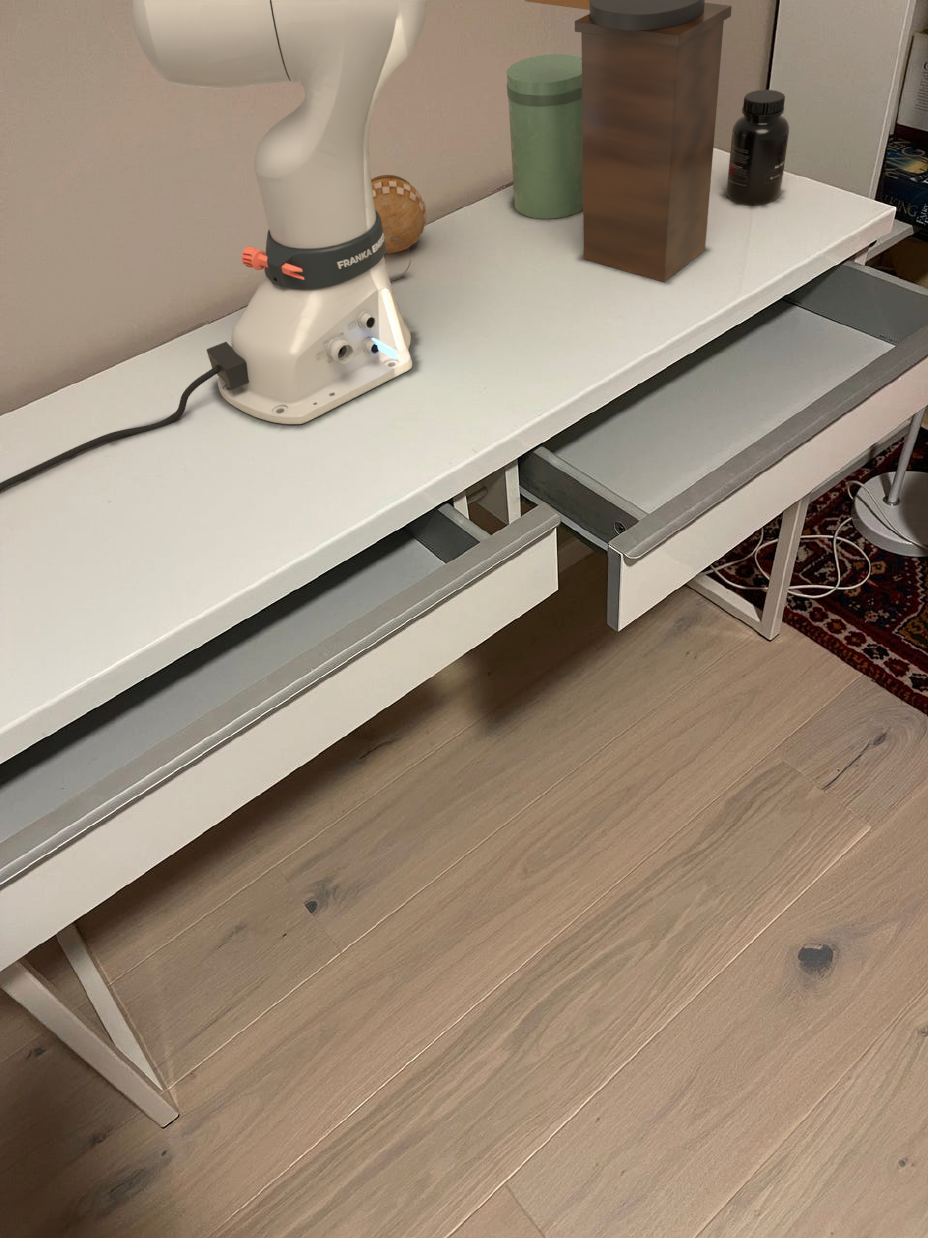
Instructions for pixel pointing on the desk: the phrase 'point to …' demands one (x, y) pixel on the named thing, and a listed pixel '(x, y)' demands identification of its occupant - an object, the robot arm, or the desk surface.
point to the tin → (546, 135)
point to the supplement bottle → (758, 149)
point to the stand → (649, 141)
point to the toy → (398, 212)
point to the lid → (635, 12)
